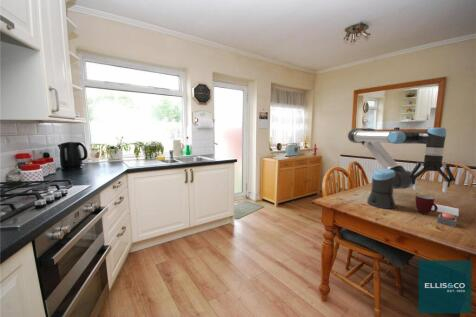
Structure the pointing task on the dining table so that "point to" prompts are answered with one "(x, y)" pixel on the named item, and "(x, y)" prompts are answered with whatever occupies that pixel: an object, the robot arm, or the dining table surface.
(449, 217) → the button
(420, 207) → the mug
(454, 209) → the paper
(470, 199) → the dining table surface
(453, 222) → the button housing
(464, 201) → the dining table surface
